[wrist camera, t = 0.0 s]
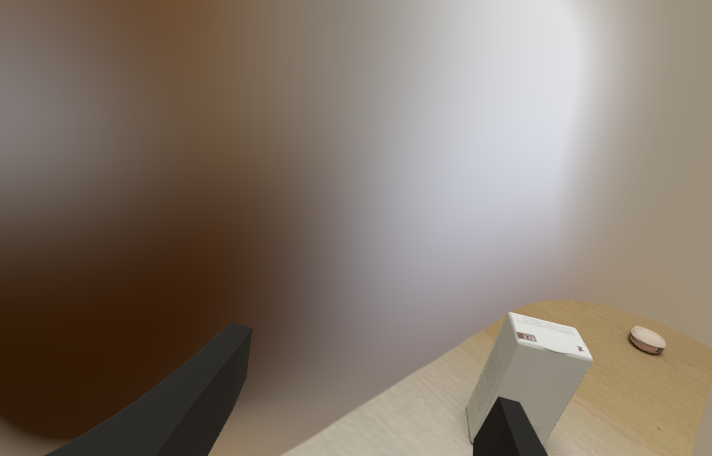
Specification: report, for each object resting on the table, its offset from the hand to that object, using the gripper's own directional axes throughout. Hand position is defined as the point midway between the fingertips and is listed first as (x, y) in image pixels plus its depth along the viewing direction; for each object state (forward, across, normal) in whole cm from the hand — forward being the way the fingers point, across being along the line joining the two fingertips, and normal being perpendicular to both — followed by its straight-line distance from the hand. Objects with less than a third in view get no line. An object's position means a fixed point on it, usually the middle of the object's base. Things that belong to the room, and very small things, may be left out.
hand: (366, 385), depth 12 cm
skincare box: (+19, -15, +24) cm, 34 cm away
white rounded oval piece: (+42, -39, +26) cm, 63 cm away
